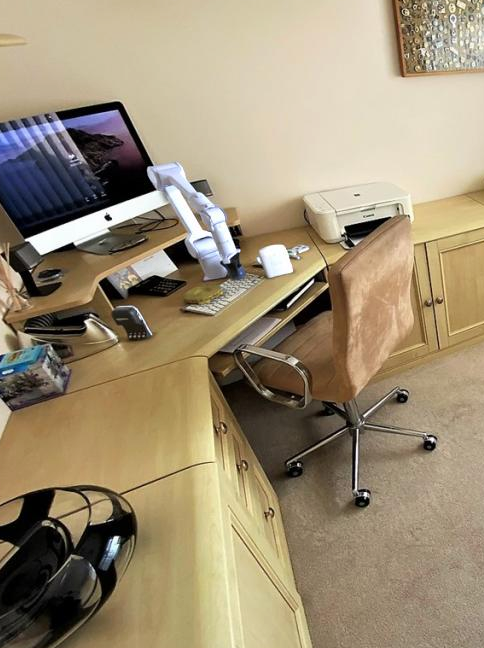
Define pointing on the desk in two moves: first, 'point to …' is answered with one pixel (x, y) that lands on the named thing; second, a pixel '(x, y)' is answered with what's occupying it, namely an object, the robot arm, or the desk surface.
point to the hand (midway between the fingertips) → (236, 273)
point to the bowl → (240, 271)
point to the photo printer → (275, 260)
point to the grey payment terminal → (132, 322)
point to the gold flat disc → (203, 294)
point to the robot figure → (291, 252)
